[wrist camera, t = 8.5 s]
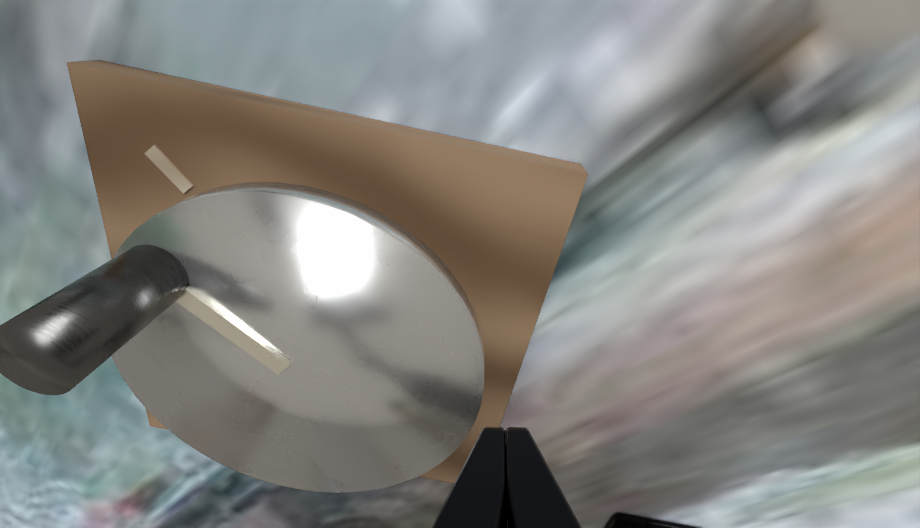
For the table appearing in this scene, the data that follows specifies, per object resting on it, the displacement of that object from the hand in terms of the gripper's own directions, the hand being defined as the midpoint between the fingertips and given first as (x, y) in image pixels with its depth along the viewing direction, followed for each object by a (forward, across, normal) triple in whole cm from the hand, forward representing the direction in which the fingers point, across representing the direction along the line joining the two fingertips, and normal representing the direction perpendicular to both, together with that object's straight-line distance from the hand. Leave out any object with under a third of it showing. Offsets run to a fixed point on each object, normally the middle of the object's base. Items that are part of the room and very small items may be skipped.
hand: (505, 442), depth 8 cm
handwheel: (+11, +9, +5) cm, 15 cm away
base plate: (+12, +9, +5) cm, 16 cm away
